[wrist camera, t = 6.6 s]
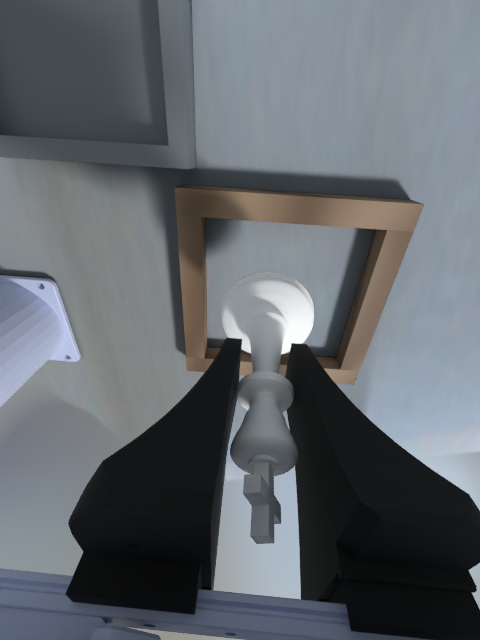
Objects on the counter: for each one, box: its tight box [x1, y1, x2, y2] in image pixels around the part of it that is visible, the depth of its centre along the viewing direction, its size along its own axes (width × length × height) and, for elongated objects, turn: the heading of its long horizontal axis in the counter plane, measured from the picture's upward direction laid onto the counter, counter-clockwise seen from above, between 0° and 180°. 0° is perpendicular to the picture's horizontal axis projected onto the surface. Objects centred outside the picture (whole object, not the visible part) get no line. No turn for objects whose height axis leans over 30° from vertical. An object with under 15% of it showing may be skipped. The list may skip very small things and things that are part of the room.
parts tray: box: [0, 0, 196, 169], centre depth 12 cm, size 12×12×2 cm
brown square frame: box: [174, 185, 424, 385], centre depth 20 cm, size 14×14×2 cm
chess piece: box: [221, 272, 314, 544], centre depth 10 cm, size 5×5×10 cm
